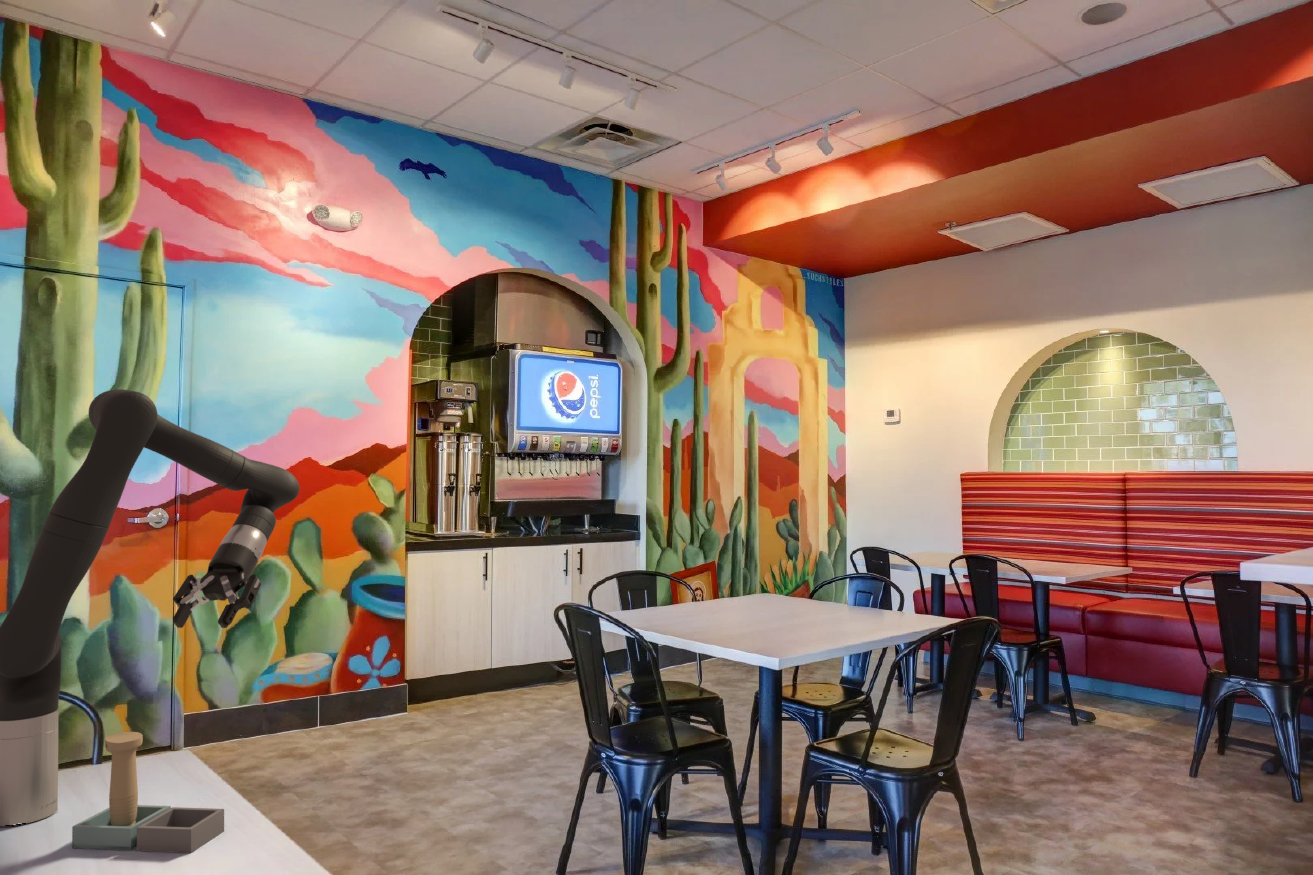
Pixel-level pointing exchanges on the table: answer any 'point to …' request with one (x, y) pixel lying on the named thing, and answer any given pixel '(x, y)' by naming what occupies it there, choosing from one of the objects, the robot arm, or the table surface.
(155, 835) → the open rectangular frame
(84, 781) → the table surface
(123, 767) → the handle
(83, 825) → the parts tray
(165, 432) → the robot arm
